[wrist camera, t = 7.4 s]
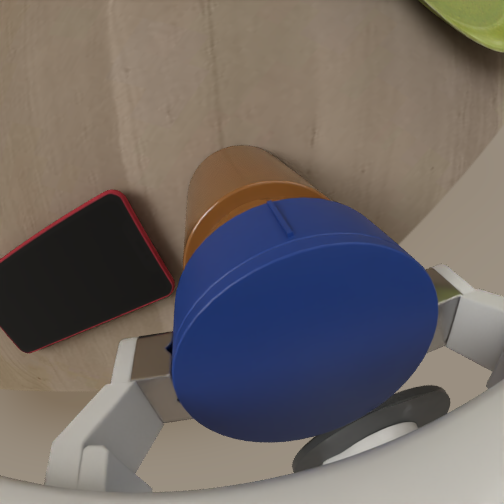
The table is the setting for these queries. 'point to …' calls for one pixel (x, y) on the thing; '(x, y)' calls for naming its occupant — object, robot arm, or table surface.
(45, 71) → the table surface
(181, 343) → the jar lid
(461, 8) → the saucer
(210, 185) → the jar
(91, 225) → the smartphone
